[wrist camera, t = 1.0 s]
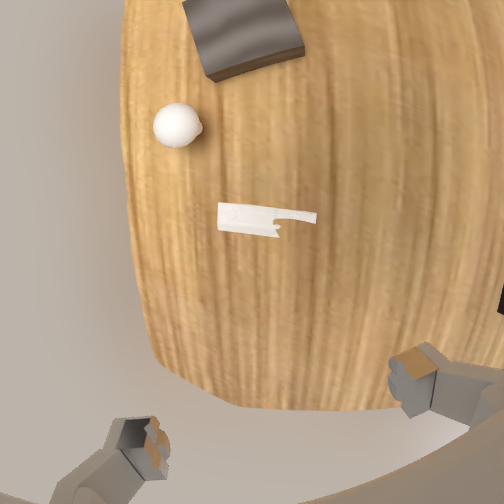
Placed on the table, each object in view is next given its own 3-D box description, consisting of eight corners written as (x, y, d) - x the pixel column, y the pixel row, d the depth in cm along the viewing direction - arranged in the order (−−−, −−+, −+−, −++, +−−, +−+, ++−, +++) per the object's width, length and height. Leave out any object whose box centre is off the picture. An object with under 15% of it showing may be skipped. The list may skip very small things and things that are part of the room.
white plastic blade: (312, 244, 48) (312, 246, 47) (218, 231, 50) (216, 233, 49) (316, 212, 46) (316, 213, 45) (220, 200, 48) (218, 201, 47)
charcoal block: (192, 13, 38) (181, 2, 33) (275, -14, 34) (271, -29, 30) (215, 82, 42) (205, 75, 37) (304, 55, 38) (304, 45, 33)
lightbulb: (172, 120, 44) (138, 115, 34) (206, 102, 43) (178, 91, 33) (187, 154, 46) (155, 156, 36) (221, 137, 44) (197, 134, 34)
